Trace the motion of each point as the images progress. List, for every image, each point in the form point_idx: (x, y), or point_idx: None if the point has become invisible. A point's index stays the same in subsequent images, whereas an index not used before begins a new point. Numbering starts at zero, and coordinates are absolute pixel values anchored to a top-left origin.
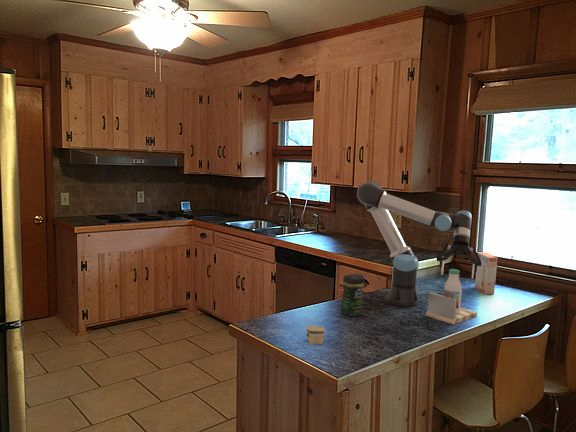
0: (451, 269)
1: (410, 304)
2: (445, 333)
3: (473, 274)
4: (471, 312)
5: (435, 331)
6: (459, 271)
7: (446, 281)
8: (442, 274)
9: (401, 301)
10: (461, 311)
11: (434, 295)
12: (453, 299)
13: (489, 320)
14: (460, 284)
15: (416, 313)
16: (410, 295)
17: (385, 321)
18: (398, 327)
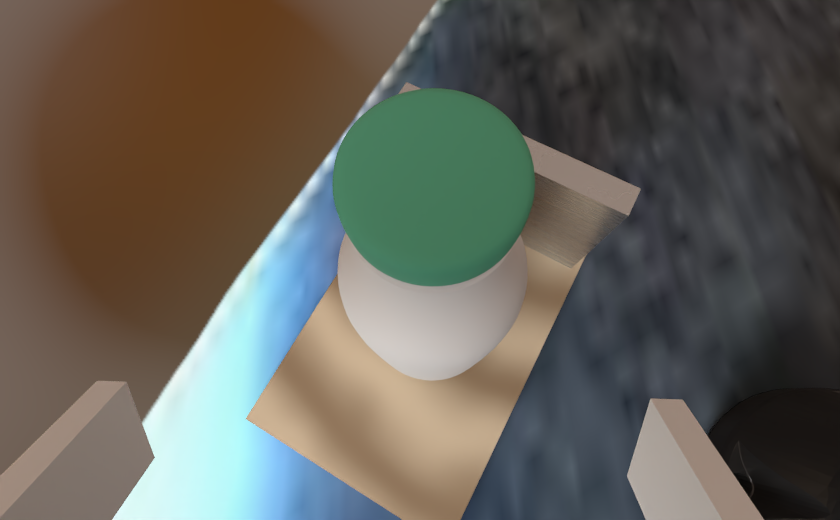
0: (492, 177)
1: (737, 413)
2: (442, 36)
3: (78, 403)
4: (288, 389)
5: (489, 39)
6: (335, 160)
7: (520, 248)
8: (633, 466)
9: (818, 388)
10: (358, 377)
11: (579, 167)
12: (415, 88)
13: (186, 365)
14: (344, 240)
15: (643, 278)
16: (802, 437)
17: (750, 60)
18: (662, 13)
